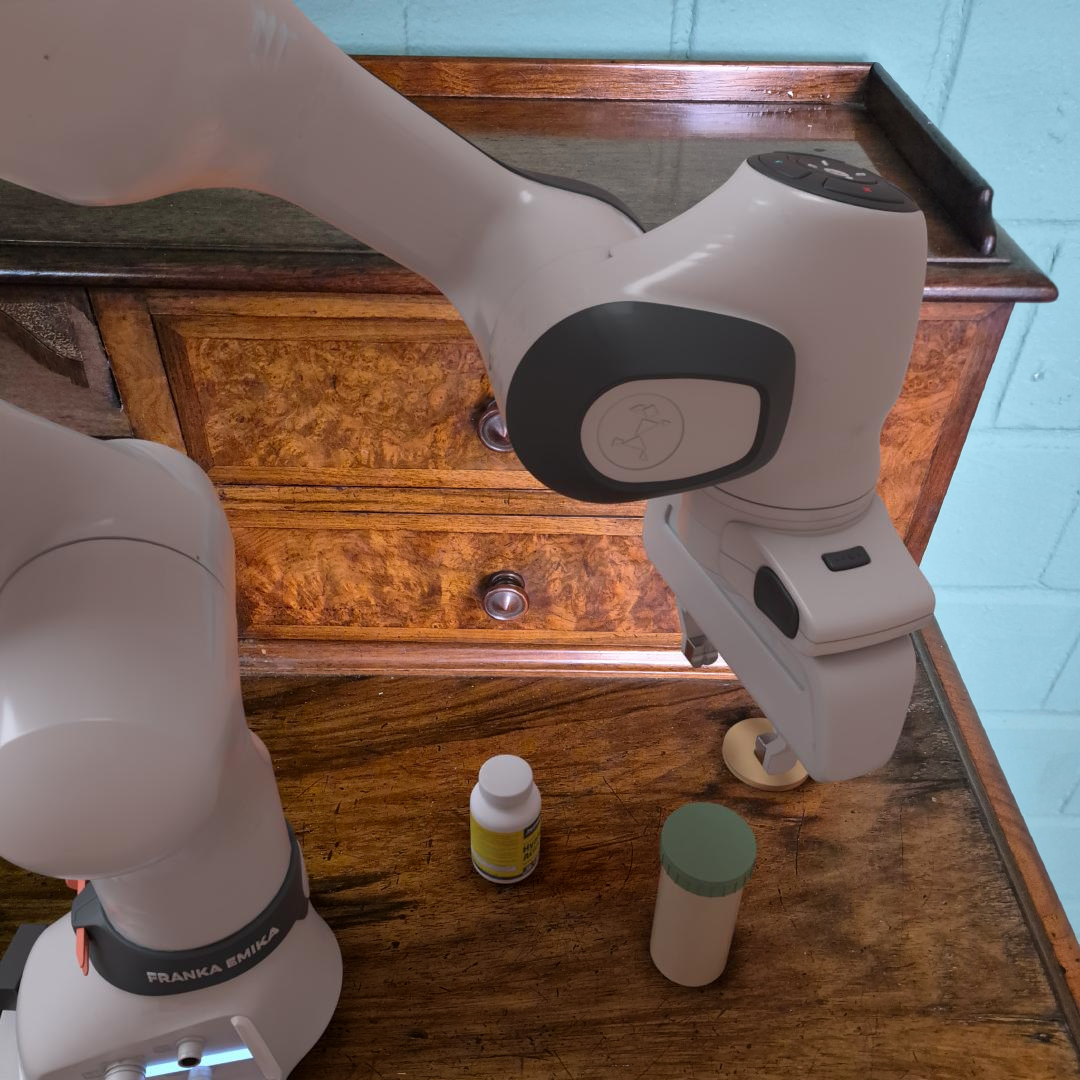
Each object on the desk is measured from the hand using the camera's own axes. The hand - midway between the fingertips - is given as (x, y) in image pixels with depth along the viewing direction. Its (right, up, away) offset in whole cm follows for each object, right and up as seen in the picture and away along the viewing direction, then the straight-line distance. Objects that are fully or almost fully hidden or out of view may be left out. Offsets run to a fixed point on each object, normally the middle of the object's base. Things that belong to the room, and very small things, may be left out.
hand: (733, 708), depth 54 cm
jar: (0, -20, +15) cm, 25 cm away
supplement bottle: (-14, -16, +21) cm, 30 cm away
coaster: (+9, -10, +30) cm, 32 cm away
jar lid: (0, -10, +7) cm, 13 cm away
